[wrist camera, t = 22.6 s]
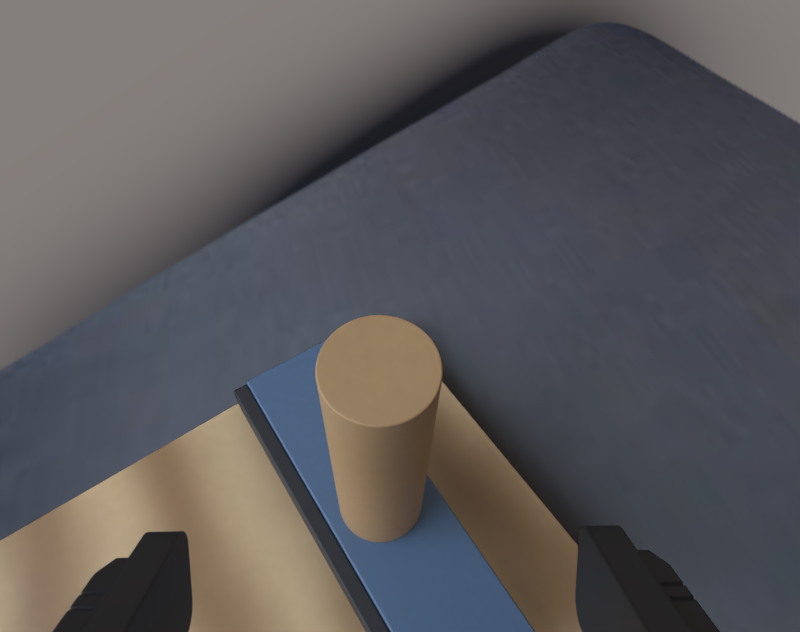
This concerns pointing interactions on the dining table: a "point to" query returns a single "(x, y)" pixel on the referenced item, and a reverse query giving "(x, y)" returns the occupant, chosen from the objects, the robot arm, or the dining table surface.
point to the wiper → (376, 478)
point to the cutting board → (276, 534)
